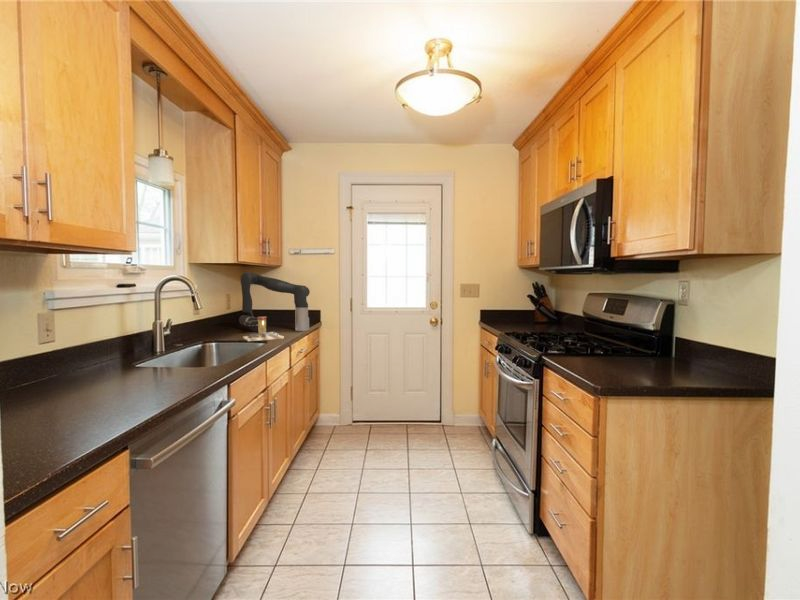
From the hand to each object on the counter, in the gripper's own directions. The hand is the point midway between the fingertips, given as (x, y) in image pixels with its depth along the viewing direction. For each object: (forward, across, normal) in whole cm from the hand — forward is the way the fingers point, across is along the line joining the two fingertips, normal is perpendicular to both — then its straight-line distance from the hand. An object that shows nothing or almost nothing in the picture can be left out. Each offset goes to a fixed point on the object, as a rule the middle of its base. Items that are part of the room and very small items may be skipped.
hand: (258, 324), depth 275 cm
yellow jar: (+10, 0, +7) cm, 12 cm away
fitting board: (+24, -3, +7) cm, 25 cm away
